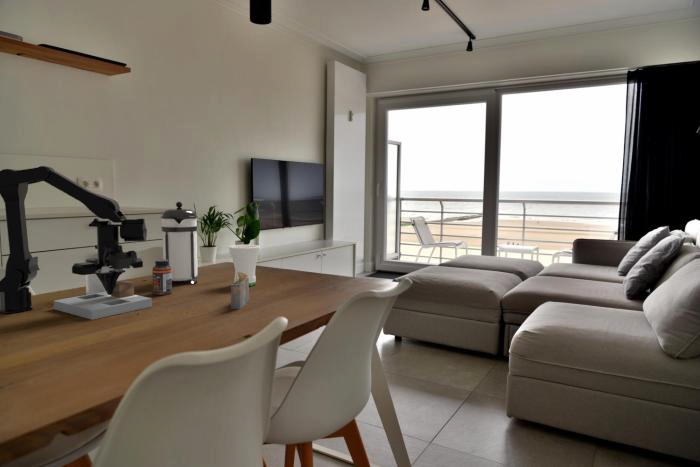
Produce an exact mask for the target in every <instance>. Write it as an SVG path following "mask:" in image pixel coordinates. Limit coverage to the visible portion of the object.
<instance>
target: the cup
mask: <svg viewBox="0 0 700 467" xmlns="http://www.w3.org/2000/svg"><path fill="white" fill-rule="evenodd" d="M228 249H229V250H228V251H229V255H230V256H231V259H232V262H233V267H234V282H235V281H237V280H238V279H239V276H238V273H239V272H241V273H243V274H245V275H247V278H249V287H252V286H253V285H255V284H256V282H257V277H256V276H257V275H256V267H257V261H258V258H259V255H260V254H261V245H257V244H235V245H234V244H233V245H229V247H228ZM237 272H238V273H237Z"/></svg>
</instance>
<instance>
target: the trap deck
mask: <svg viewBox="0 0 700 467" xmlns="http://www.w3.org/2000/svg"><path fill="white" fill-rule="evenodd" d="M151 307H153V298H152V297H148V296H147V297H146V296H143V295H139V294H134V296H129V297H123V298H117V297H113V296H111V295H108V294H107V292H100V293H94V294H89V295H86V294H84V295H83V294H82V295H76V296H72V297H67V298H60V299H56V300H53V309H54V310H55V311H59V312H63V313H66V314H70V315H73V316H78V317H81V318H85V319H88V320H91V321H92V320H97V319H102V318H106V317H111V316H116V315H120V314H124V313H125V314H126V313H130V312H133V311H137V310H138V311H139V310H143V309H147V308H148V309H149V308H151Z"/></svg>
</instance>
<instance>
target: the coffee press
mask: <svg viewBox="0 0 700 467" xmlns="http://www.w3.org/2000/svg"><path fill="white" fill-rule="evenodd" d="M175 206H176V208H169V209H165V210H164V211H163V212H162V214H161V216H160V218H161V219H160V220H161V232H162V233H161V234H162V236H161V237H162V259H166V260H168V265H169V266H170V267H171V272H172V282H181V281H184V282H185V281H187V282H190V283H191V284H192V285H196V284H198V281H197V278H198V236H197V235H198V225H197V222H198V220H197V219H198V215H197V213H196V211H195V210H193V209H191V208H182V207H183V203H182V202H181V201H177V202H176V204H175Z"/></svg>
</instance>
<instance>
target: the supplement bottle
mask: <svg viewBox="0 0 700 467" xmlns="http://www.w3.org/2000/svg"><path fill="white" fill-rule="evenodd" d="M154 262H155V265H154V266H153V267H152V272H151V273H152V294H153V295H155V296H166V295H170V294H172V292H173V287H172V285H173V284H172V283H173V281H172V272H171V267H170V266H169V265H168V260H166V259H163V258H162V259H156V260H154Z"/></svg>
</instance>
